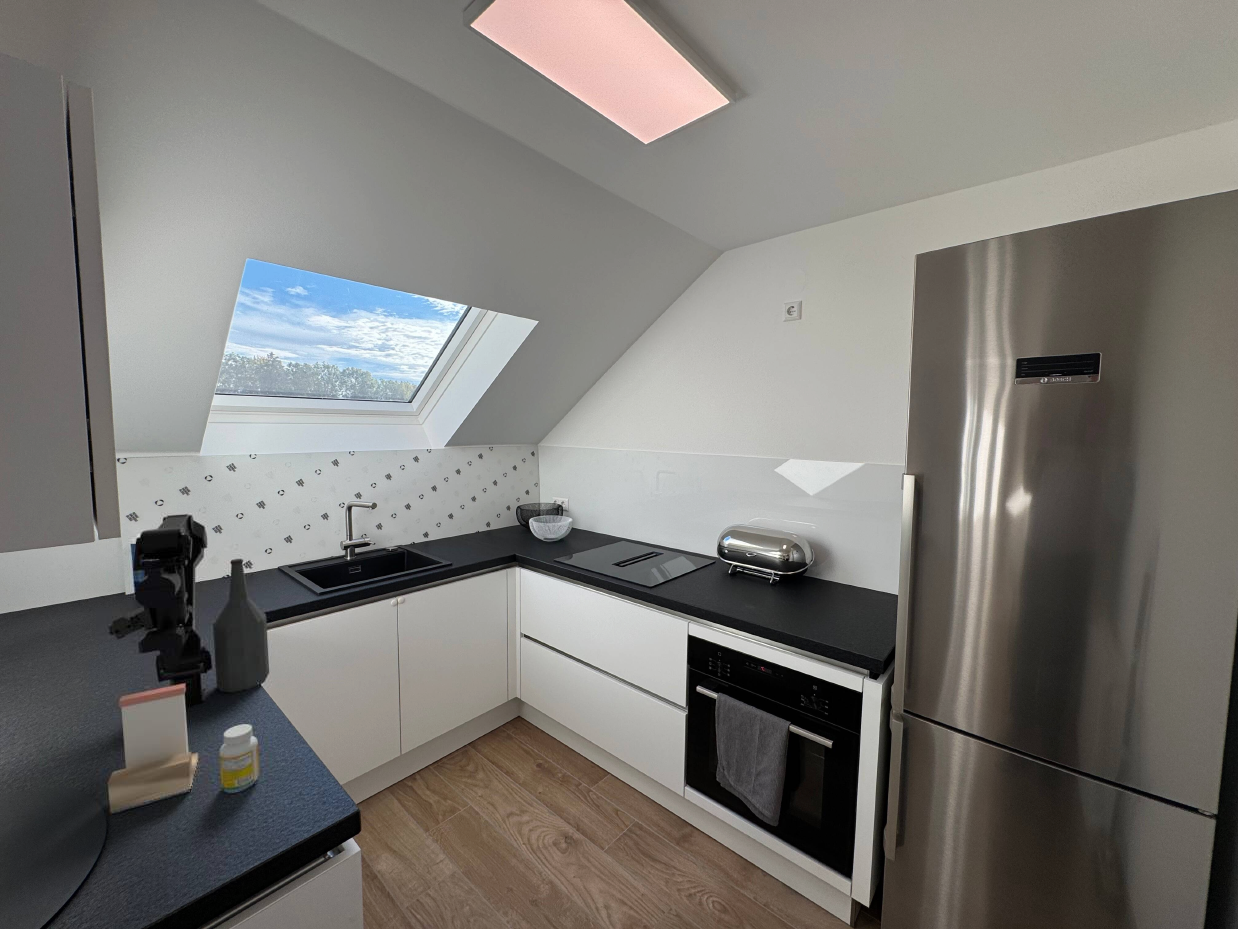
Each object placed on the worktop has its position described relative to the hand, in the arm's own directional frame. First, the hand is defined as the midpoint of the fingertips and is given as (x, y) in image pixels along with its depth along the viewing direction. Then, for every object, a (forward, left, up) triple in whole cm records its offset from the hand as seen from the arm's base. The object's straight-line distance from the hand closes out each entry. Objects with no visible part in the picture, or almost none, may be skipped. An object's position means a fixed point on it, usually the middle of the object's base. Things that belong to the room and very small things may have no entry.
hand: (172, 669), depth 106 cm
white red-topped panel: (+17, 0, -11) cm, 21 cm away
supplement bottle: (+26, +12, -13) cm, 32 cm away
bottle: (-17, +10, -13) cm, 24 cm away
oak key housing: (+19, 0, -13) cm, 23 cm away
